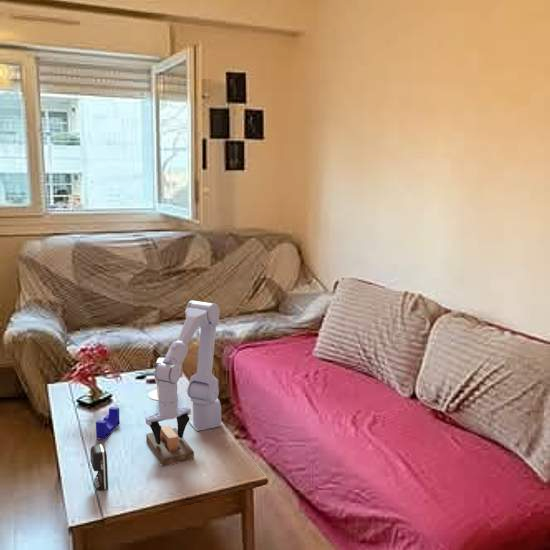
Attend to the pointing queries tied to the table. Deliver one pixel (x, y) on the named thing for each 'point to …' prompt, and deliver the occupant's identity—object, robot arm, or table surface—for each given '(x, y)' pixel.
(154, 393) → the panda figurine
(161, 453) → the brown board with holes
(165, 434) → the prong clip
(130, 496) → the table surface
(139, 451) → the table surface
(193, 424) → the robot arm
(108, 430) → the blue cradle block
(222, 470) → the table surface
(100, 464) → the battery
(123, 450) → the table surface
